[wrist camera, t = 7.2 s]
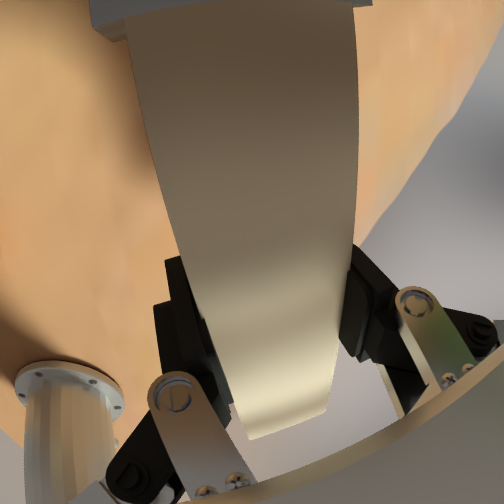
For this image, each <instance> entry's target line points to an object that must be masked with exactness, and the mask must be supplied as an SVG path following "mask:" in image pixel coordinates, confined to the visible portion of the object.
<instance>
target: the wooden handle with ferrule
mask: <svg viewBox="0 0 504 504" xmlns="http://www.w3.org/2000/svg"><path fill="white" fill-rule="evenodd" d="M363 6H373V4H372V0H89V7H90V14H91V21H92V28H93V29H95V30H96V31H98V32H99V33H101V34H102V35H103V36H105V37H106V38H108V39H109V40H110V41H112V42H116V41H119V40H123V39H126V38H127V41H128V47H129V53H130V58H131V63H132V69H133V74H134V79H135V84H136V89H137V93H138V98H139V103H140V107H141V112H142V116H143V120H144V125H145V129H146V133H147V137H148V141H149V146H150V150H151V154H152V157H153V161H154V165H155V169H156V173H157V177H158V180H159V184H160V188H161V191H162V195H163V199H164V202H165V206H166V209H167V213H168V216H169V220H170V223H171V226H172V230H173V233H174V236H175V240H176V243H177V246H178V249H179V253H180V256H181V259H182V262H183V265H184V268H185V271H186V275H187V278H188V281H189V284H190V287H191V290H192V293H193V296H194V299H195V301H196V304H197V307H198V310H199V313H200V316H201V319H203V318H205V321H206V324H207V327H208V330H209V333H210V335H211V338H212V341H213V344H214V347H215V349H216V352H217V355H218V358H219V360H220V363H221V366H222V368H223V371H224V374H225V376H226V379H227V382H228V385H229V388H230V391H231V394H232V397H233V400H234V405H235V407H236V410H237V412H238V415H239V417H240V419H241V422H242V424H243V426H244V429H245V431H246V433H247V436H248V438H249V440H253V439H256V438H258V437H262V436H265V435H268V434H271V433H273V432H276V431H279V430H282V429H285V428H287V427H290V426H293V425H295V424H298V423H300V422H303V421H305V420H308V419H310V418H313V417H315V416H317V415H320V414H322V413H325V411H326V407H327V402H328V398H329V393H330V388H331V384H332V379H333V374H334V369H335V364H336V359H337V353H338V348H339V342H340V340H339V338H338V337H339V331H340V324H341V318H342V311H343V303H344V296H345V288H346V280H347V271H349V270H350V264H351V255H352V245H353V235H354V223H355V210H356V194H357V175H358V143H359V99H358V68H357V50H356V36H355V24H354V14H353V8H354V7H363Z"/></svg>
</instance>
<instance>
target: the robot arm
mask: <svg viewBox="0 0 504 504" xmlns="http://www.w3.org/2000/svg"><path fill="white" fill-rule="evenodd" d="M165 268H166V274H167V280H168V286H169V292H170V298H171V300H170V301H166V302H163V303H160V304H156V305H154V306H153V312H154V320H155V328H156V335H157V342H158V349H159V356H160V362H161V368H162V374H163V375H161V376H160V377H158V378H157V379H156V380H155V381H154V382H153V383H152V384H151V386H150V388H149V390H148V395H147V401H148V406H149V409H150V410H149V411H148V412H147V414H146V415H145V416H144V418H143V419H142V420H141V422H140V423H139V424H138V426H137V427H136V428H135V430H134V431H133V432H132V434H131V435H130V436H129V438H128V439H127V440H126V442H125V443H124V444H123V446H122V447H121V448H120V450H119V451H118V452H117V454H116V448H115V447H117V446H118V444H119V442H118V440H117V439H116V438H115V437H114V432H113V423H112V422H113V421H115V420H116V419H117V418H119V417H120V416H121V414H122V413H123V411H124V408H125V402H124V395H123V393H122V391H121V389H120V388H119V386H118V385H117V384H116V383H115V382H114V381H112V380H111V379H110V378H109V377H107V376H105V375H104V374H102V373H100V372H98V371H96V370H94V369H91V368H89V367H86V366H82V365H79V364H75V363H70V362H65V361H40V362H35V363H32V364H29V365H27V366H25V367H24V368H22V369H21V370H20V371H19V372H18V374H17V376H16V380H15V392H16V395H17V397H18V399H19V400H20V402H21V403H22V404H23V405H24V406H25V407H26V417H25V434H24V480H25V497H26V504H176V503H177V502H178V501H179V499H180V498H181V496H182V495H183V494H184V492H185V491H186V492H187V494H188V496H189V498H190V499H191V500H190V501H186V502H182V503H177V504H504V320H493V322H491V321H490V320H489V319H487V318H485V317H483V316H480V315H476V314H471V313H466V312H462V311H457V310H453V309H448V308H444V307H442V306H441V305H440V304H439V302H438V300H437V299H436V298H435V296H434V295H433V294H432V293H431V292H429V291H428V290H426V289H424V288H421V287H416V286H409V287H405V288H403V289H401V290H399V289H398V288H397V287H396V286H395V285H394V284H393V283H392V282H391V280H390V279H389V278H388V277H387V276H386V275H385V274H384V273H383V272H382V271H381V270H380V269H379V268H378V267H377V266H376V265H375V264H374V263H373V262H372V261H371V260H370V259H369V258H368V257H367V256H366V255H365V254H364V252H363V251H361V249H360V248H359V247H357V246H356V245H354V244H353V245H352V255H351V264H350V270H349V271H347V280H346V288H345V296H344V303H343V311H342V318H341V324H340V331H339V337H338V338H339V340H340V341H341V343H342V344H343V346H344V347H345V349H346V350H347V352H348V353H349V355H350V356H351V357H354V356H356V358H357V359H358V361H359V362H360V363H361V362H363V361H365V360H367V359H369V358H371V360H372V361H373V363H376V364H377V367H378V370H379V372H380V374H381V377H382V379H383V382H384V384H385V386H386V388H387V391H388V394H389V396H390V398H391V401H392V403H393V406H394V408H395V411H396V413H397V416H398V418H399V420H398V421H396V422H394V423H393V424H391V425H389V426H387V427H386V428H384V429H382V430H380V431H378V432H376V433H375V434H373V435H371V436H369V437H367V438H365V439H363V440H361V441H359V442H357V443H355V444H354V445H352V446H349V447H347V448H345V449H343V450H341V451H339V452H337V453H334V454H332V455H330V456H328V457H325V458H323V459H321V460H319V461H316V462H314V463H311V464H309V465H306V466H304V467H301V468H299V469H296V470H293V471H291V472H288V473H285V474H283V475H280V476H277V477H274V478H271V479H268V480H265V481H262V482H259V483H258V481H257V480H256V478H255V477H254V475H253V474H252V472H251V471H250V469H249V468H248V466H247V464H246V463H245V461H244V460H243V458H242V456H241V455H240V453H239V452H238V450H237V448H236V447H235V445H234V443H233V442H232V440H231V438H230V437H229V435H228V433H227V432H226V430H225V429H226V427H227V425H228V424H229V422H230V420H231V419H232V418H231V415H230V413H231V411H230V409H229V405H228V404H231V403H234V400H233V397H232V394H231V391H230V388H229V385H228V382H227V379H226V376H225V374H224V371H223V368H222V366H221V363H220V360H219V358H218V355H217V352H216V349H215V347H214V344H213V341H212V338H211V335H210V333H209V330H208V327H207V324H206V321H205V318H203V319H201V316H200V313H199V310H198V307H197V304H196V301H195V299H194V296H193V293H192V290H191V287H190V284H189V281H188V278H187V275H186V271H185V268H184V265H183V262H182V259H181V256H177V257H173V258H170V259H166V260H165Z"/></svg>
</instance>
